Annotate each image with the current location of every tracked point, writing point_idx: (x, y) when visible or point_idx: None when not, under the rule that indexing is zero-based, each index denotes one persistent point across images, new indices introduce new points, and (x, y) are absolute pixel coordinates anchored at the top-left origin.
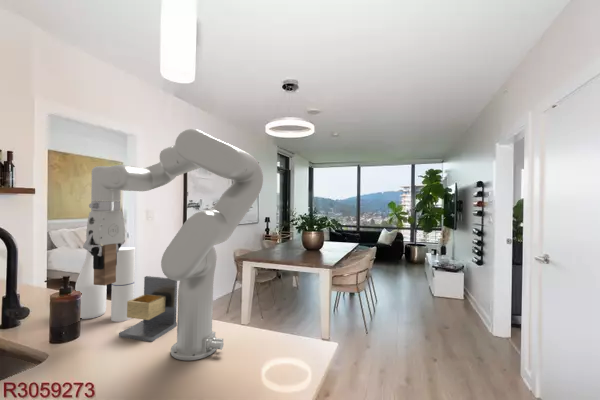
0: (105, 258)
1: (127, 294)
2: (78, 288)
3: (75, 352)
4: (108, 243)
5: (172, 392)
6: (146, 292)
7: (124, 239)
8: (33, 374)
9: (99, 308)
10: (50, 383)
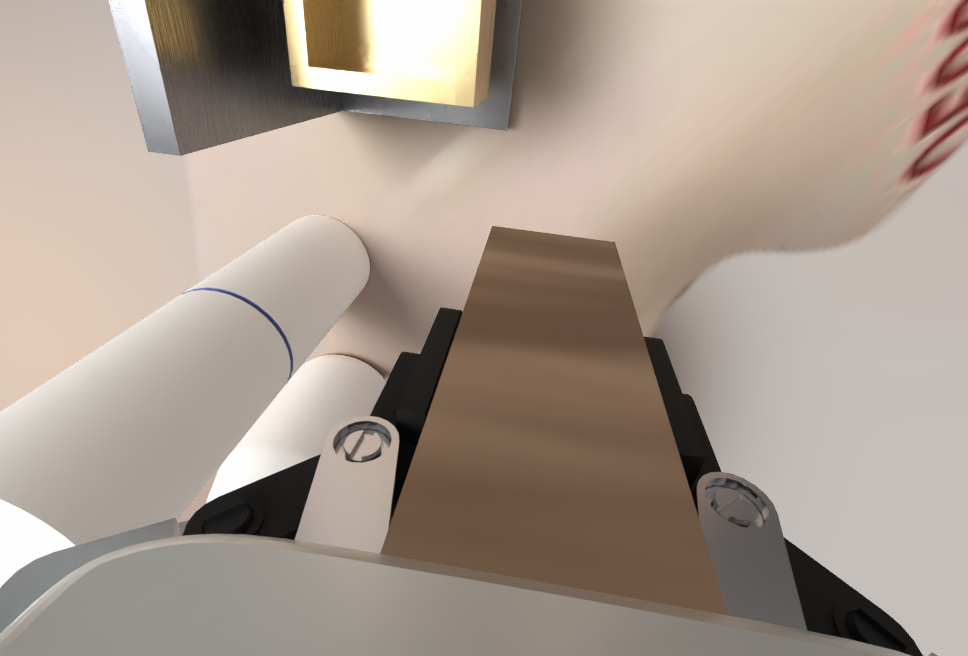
0: (652, 401)
1: (278, 271)
2: None
3: (666, 207)
4: (749, 650)
5: None
6: (256, 109)
7: (73, 585)
8: (840, 224)
9: (339, 373)
10: (936, 98)
